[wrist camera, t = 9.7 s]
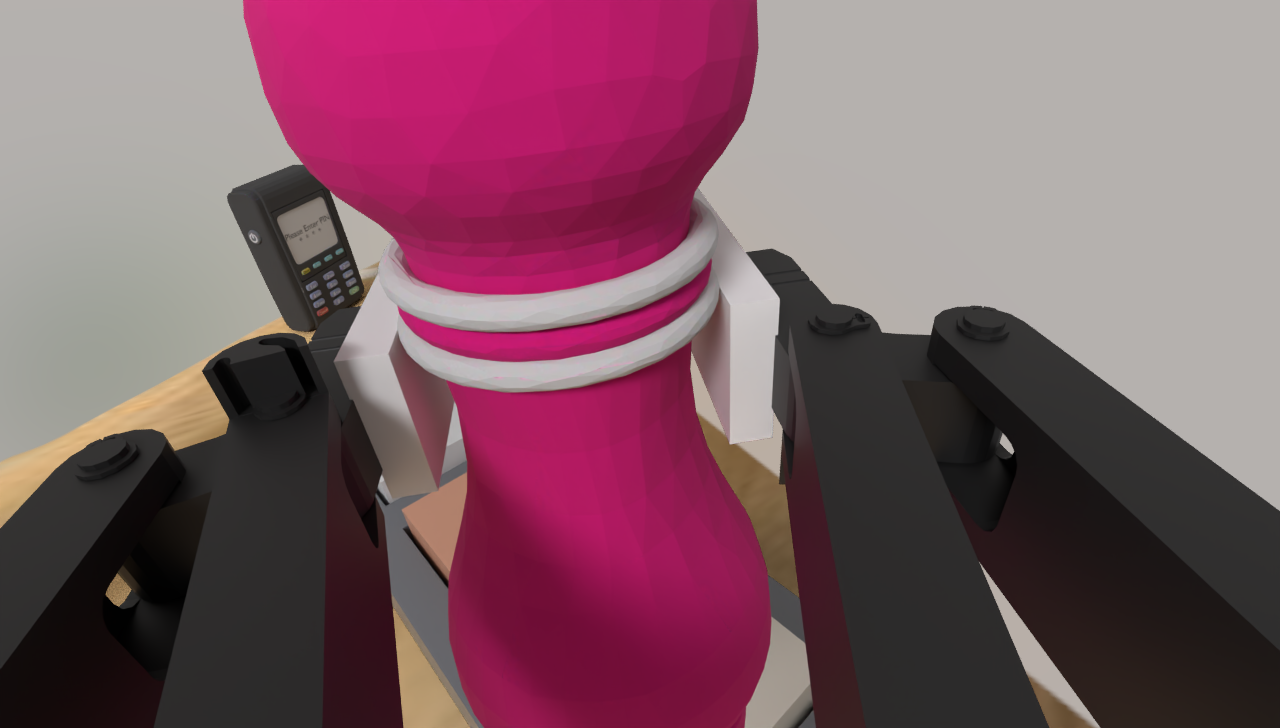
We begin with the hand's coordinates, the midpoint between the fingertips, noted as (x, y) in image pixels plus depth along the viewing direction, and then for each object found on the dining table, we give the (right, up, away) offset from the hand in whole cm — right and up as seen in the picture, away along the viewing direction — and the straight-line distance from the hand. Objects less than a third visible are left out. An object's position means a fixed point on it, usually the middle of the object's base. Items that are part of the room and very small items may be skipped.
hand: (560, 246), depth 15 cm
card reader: (-32, +2, +52) cm, 61 cm away
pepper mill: (+2, -12, +2) cm, 12 cm away
